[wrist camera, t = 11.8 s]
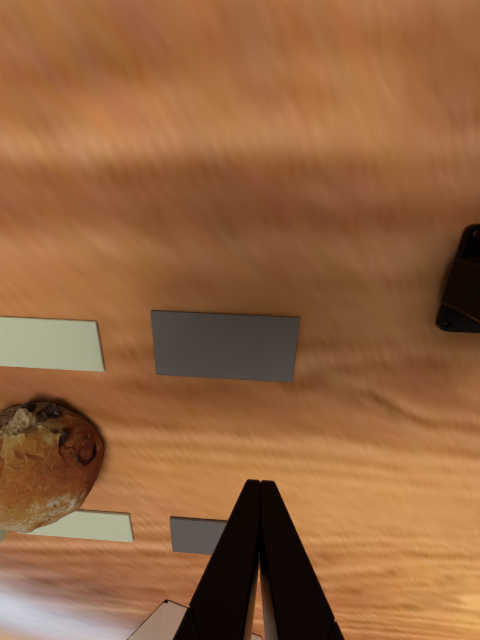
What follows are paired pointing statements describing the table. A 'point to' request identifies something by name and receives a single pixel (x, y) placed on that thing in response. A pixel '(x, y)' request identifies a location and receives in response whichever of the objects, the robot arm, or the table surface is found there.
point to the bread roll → (45, 464)
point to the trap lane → (171, 359)
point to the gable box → (164, 623)
